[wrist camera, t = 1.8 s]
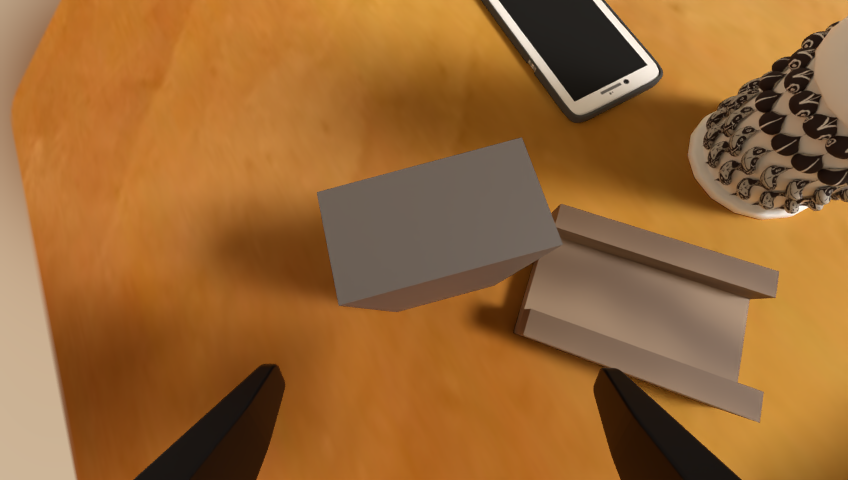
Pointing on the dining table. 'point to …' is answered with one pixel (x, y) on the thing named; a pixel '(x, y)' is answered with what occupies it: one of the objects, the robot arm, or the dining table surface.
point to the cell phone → (578, 52)
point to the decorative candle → (781, 135)
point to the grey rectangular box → (436, 228)
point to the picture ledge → (647, 308)
